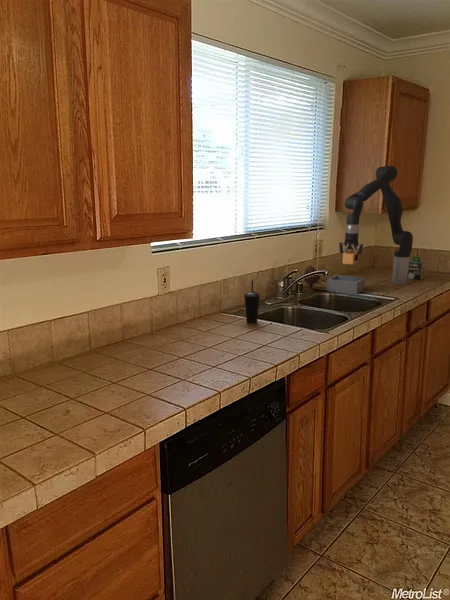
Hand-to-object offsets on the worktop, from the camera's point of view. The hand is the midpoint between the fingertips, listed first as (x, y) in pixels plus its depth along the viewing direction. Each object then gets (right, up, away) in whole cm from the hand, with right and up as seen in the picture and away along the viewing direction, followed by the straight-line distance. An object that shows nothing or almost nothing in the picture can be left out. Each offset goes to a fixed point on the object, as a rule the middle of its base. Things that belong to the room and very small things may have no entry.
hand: (350, 260), depth 302 cm
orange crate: (0, -1, 0) cm, 1 cm away
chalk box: (+53, -9, +41) cm, 67 cm away
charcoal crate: (-1, -17, +5) cm, 18 cm away
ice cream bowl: (-23, -18, +3) cm, 29 cm away
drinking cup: (-61, -34, -63) cm, 94 cm away
